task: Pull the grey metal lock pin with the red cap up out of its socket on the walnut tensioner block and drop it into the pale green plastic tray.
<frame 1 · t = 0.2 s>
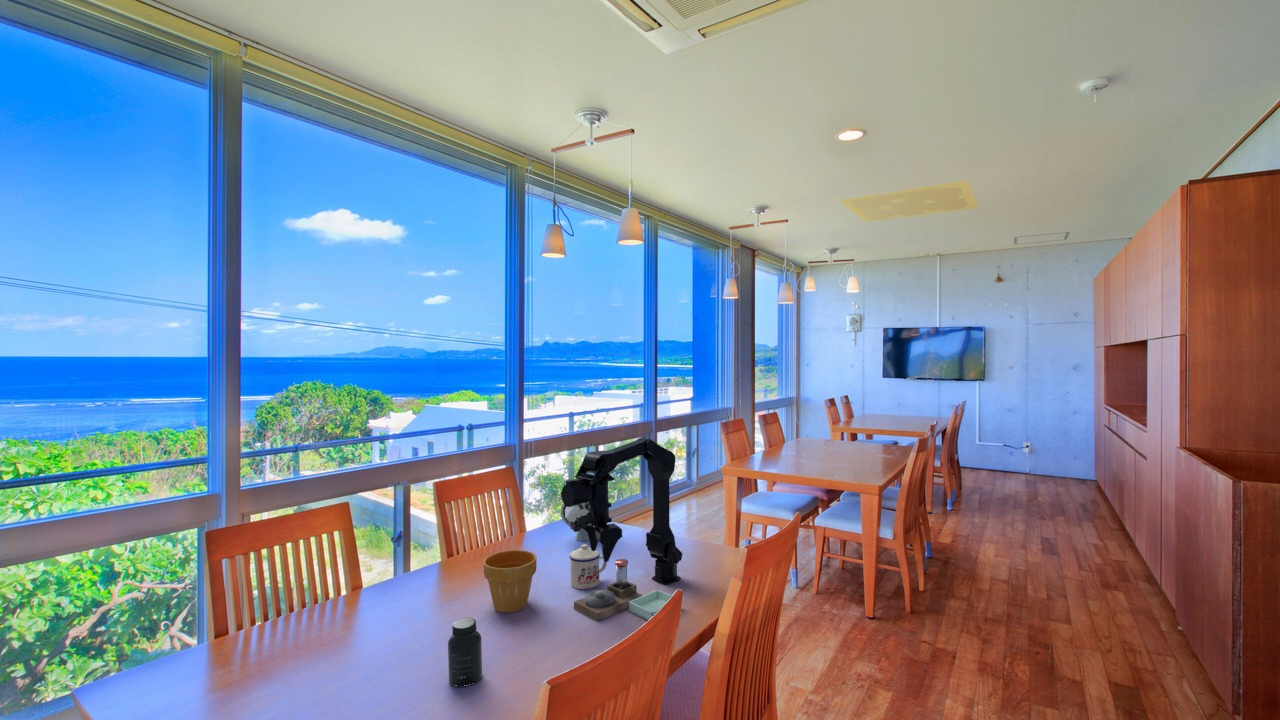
hand: (599, 556, 150), 14 cm above the table, fingers open, 9 cm apart
tray: (654, 609, 148), on the table
lock pin: (622, 592, 155), point 2 cm above the table, touching tensioner block
teacup with lid: (589, 583, 167), on the table
tensioner block: (608, 605, 151), on the table
flower pot: (511, 606, 152), on the table
supplement bottle: (465, 679, 117), on the table
jet engine: (578, 541, 205), on the table
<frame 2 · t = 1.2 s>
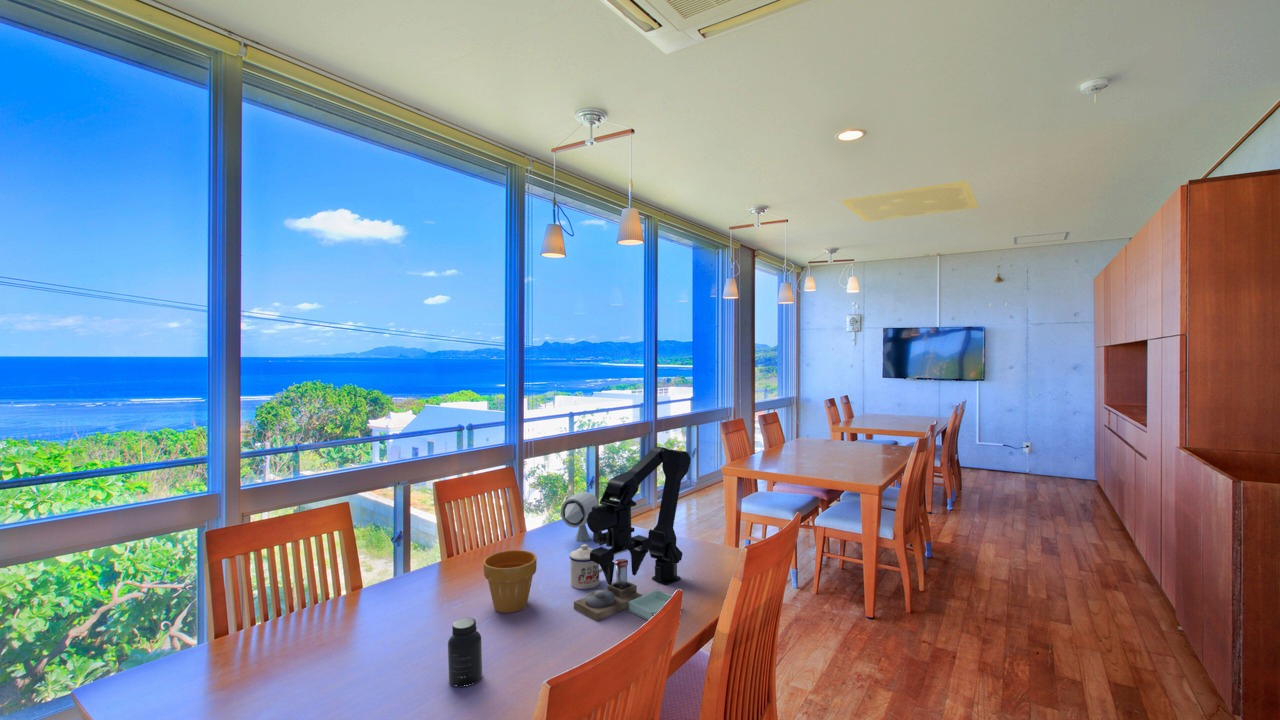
hand: (622, 579, 155), 6 cm above the table, fingers open, 9 cm apart
nothing on the table moved.
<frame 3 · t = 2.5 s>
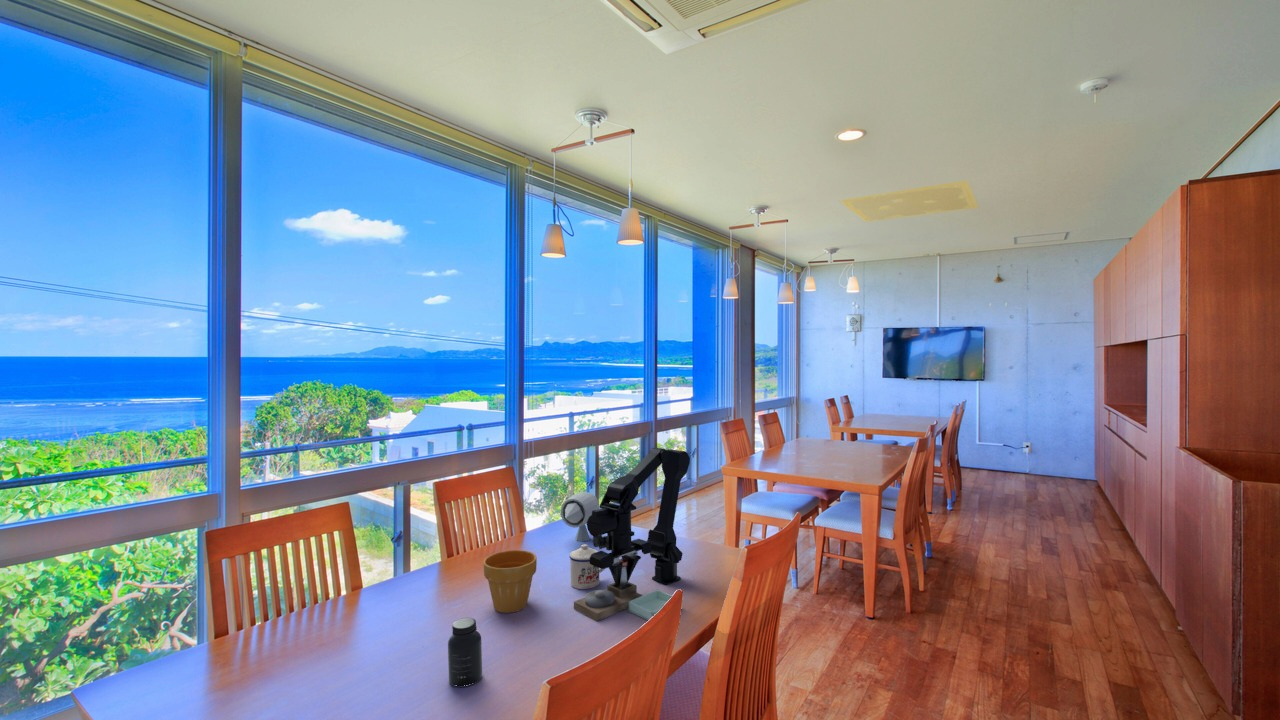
hand: (621, 583, 155), 5 cm above the table, fingers closed on lock pin, 3 cm apart
lock pin: (622, 592, 155), point 2 cm above the table, touching gripper, tensioner block
everything else where it was.
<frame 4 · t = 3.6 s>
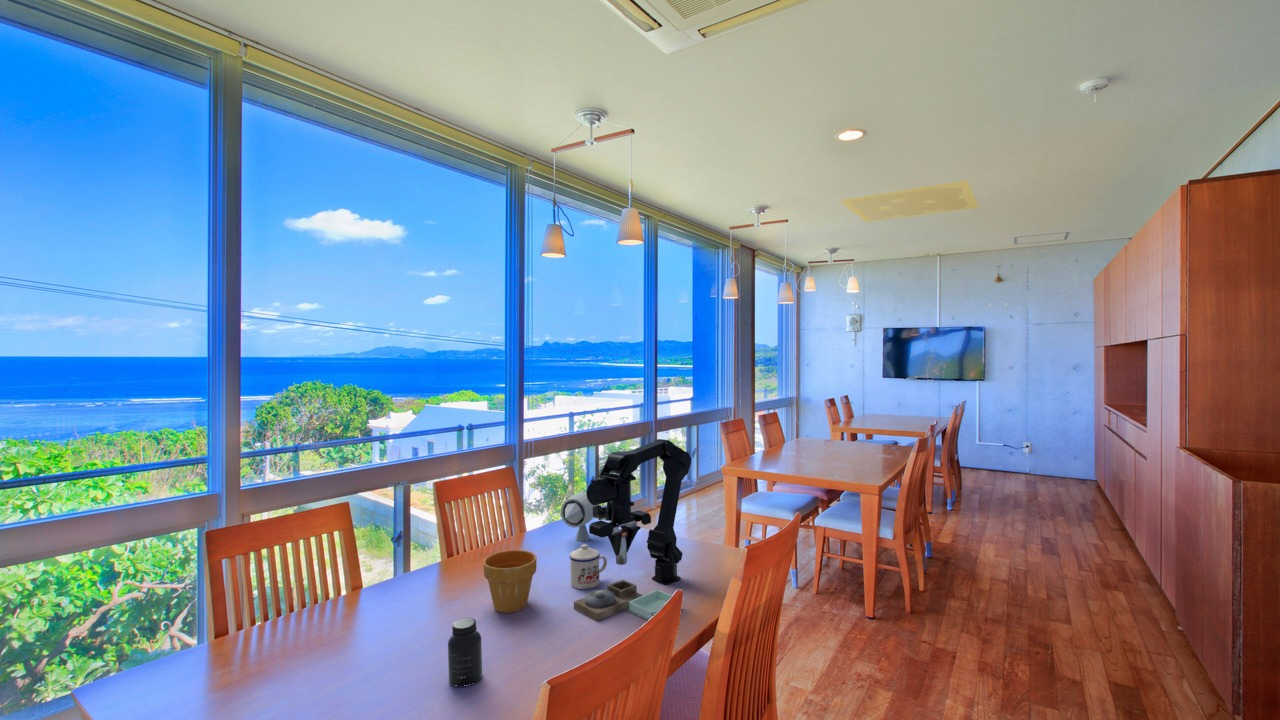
hand: (621, 553, 155), 13 cm above the table, fingers closed on lock pin, 3 cm apart
lock pin: (621, 562, 155), point 10 cm above the table, touching gripper
everything else where it was.
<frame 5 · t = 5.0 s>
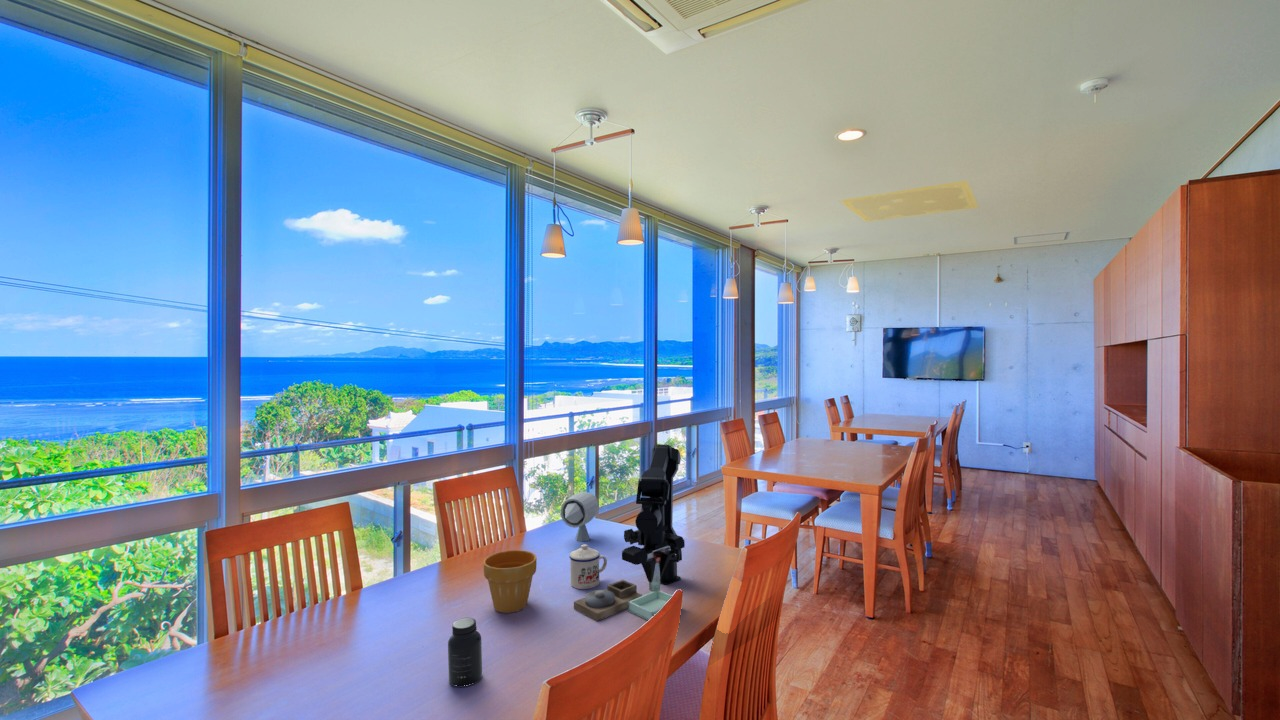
hand: (654, 580, 148), 8 cm above the table, fingers closed on lock pin, 3 cm apart
lock pin: (654, 589, 148), point 5 cm above the table, touching gripper
everything else where it was.
when the fingers open (5 cm above the table, at t = 6.0 s): lock pin drops 2 cm, resting on tray.
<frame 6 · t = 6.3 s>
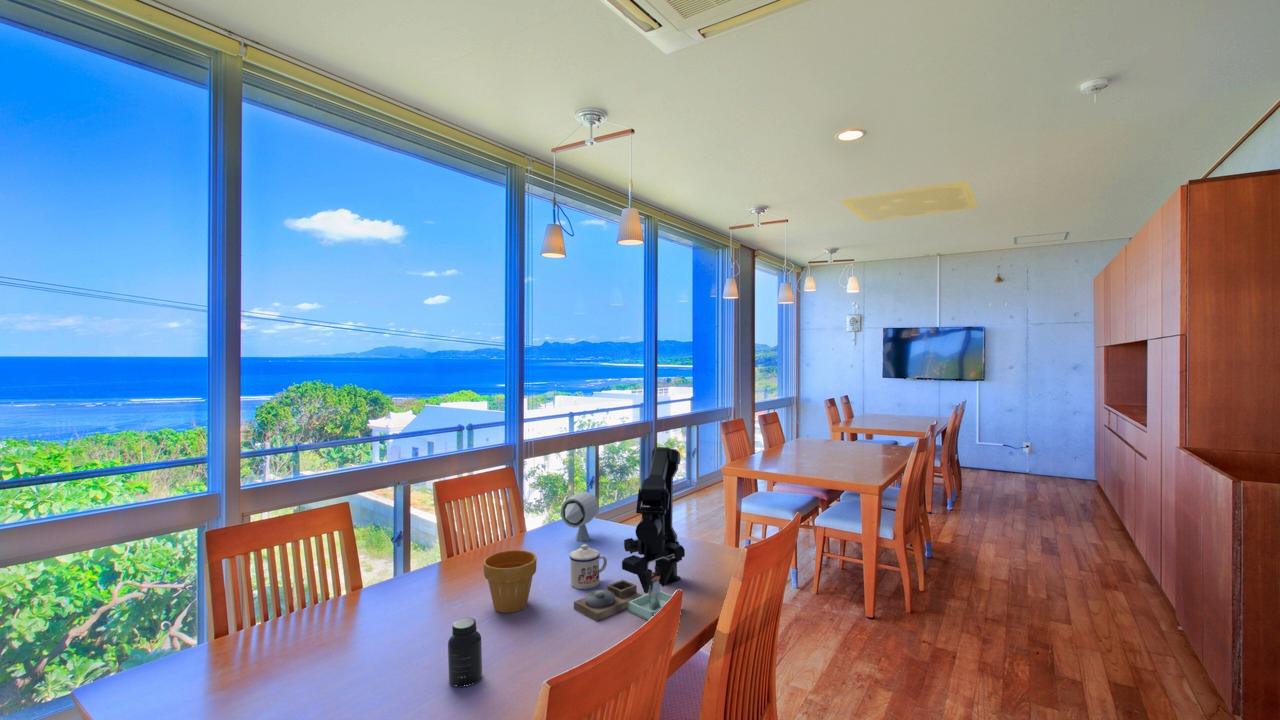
hand: (654, 589, 148), 5 cm above the table, fingers open, 6 cm apart
lock pin: (655, 607, 148), point 1 cm above the table, touching tray
everything else where it was.
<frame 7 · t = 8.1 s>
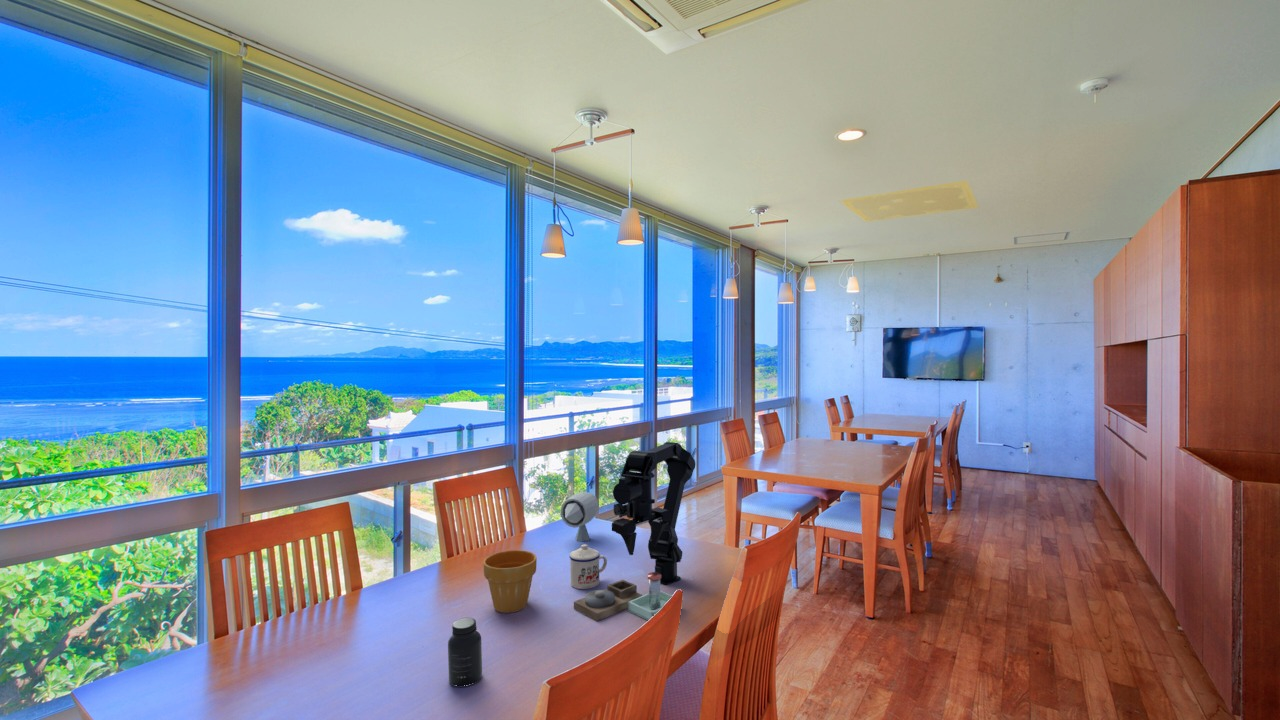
hand: (642, 550, 157), 13 cm above the table, fingers open, 9 cm apart
nothing on the table moved.
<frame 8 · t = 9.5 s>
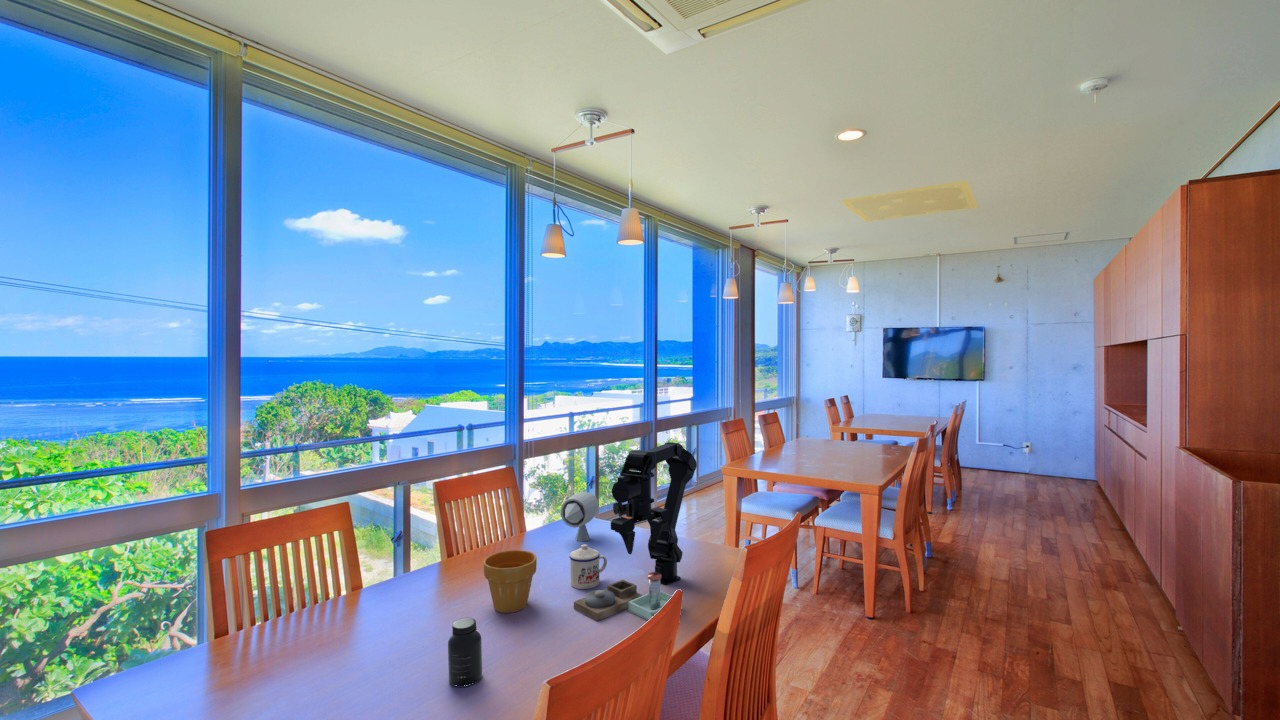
hand: (641, 549, 157), 13 cm above the table, fingers open, 9 cm apart
nothing on the table moved.
at the end: lock pin inside the target area on the tray (0.1 cm from its centre), point 0.6 cm above the tray's base; the gripper is holding nothing; lock pin moved 11.3 cm from its start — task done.
